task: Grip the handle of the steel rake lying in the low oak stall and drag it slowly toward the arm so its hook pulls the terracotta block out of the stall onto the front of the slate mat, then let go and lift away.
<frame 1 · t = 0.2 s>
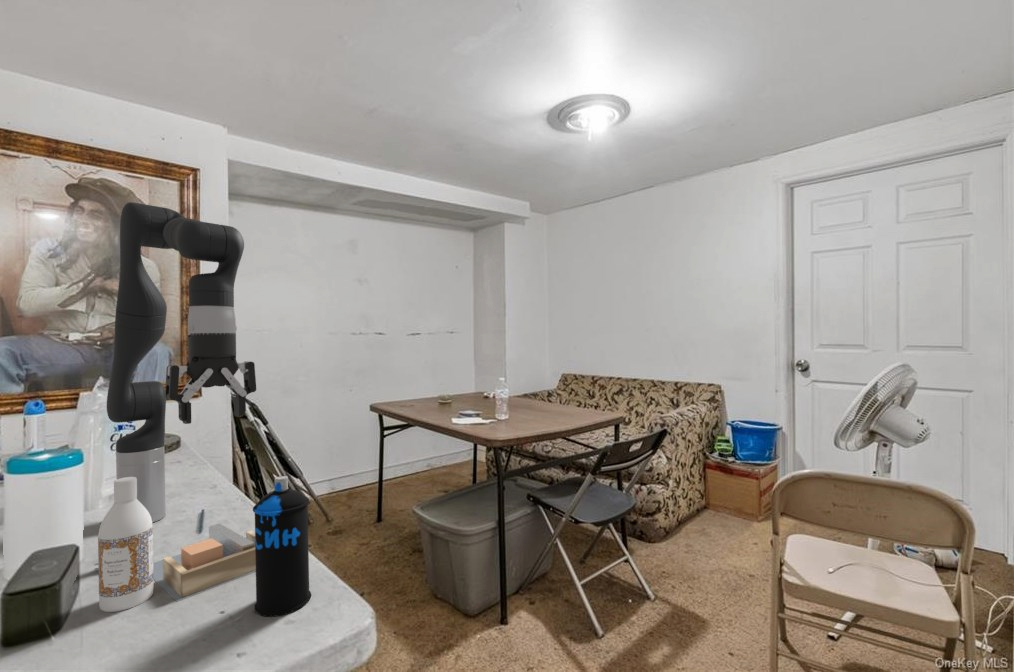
hand: (213, 419, 87), 28 cm above the table, tool pointing down, fingers open, 8 cm apart
bath foam: (127, 602, 77), on the table
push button: (118, 568, 89), on the table
block: (202, 574, 85), resting on mat
mat: (211, 565, 89), on the table
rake: (230, 556, 92), resting on mat
aerosol can: (283, 603, 76), on the table
stall: (219, 571, 87), resting on mat
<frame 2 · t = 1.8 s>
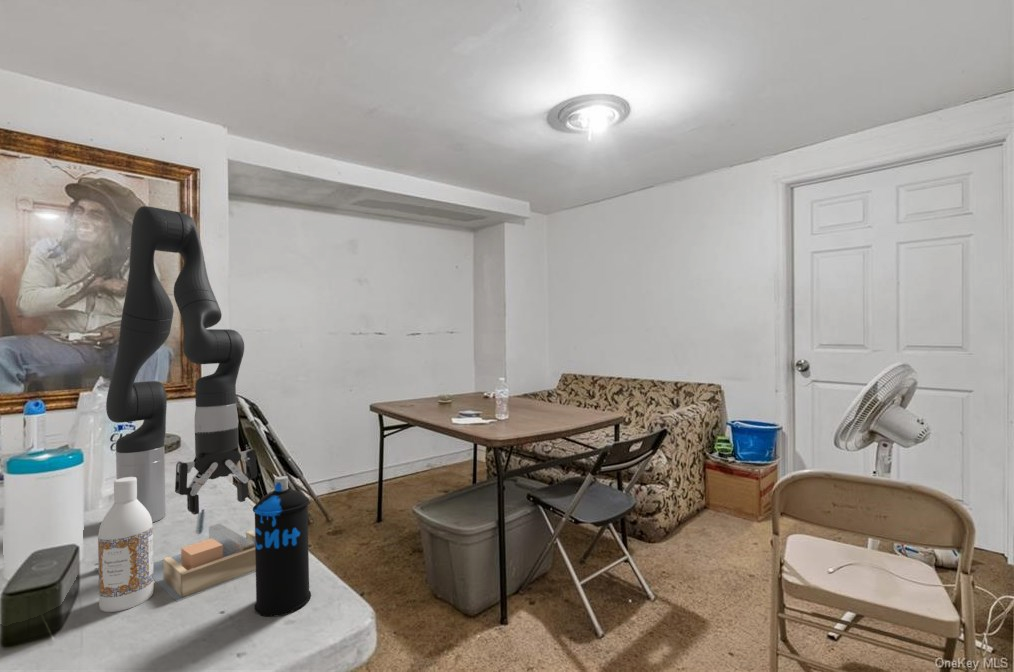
hand: (218, 507, 95), 9 cm above the table, tool pointing down, fingers open, 8 cm apart
nothing on the table moved.
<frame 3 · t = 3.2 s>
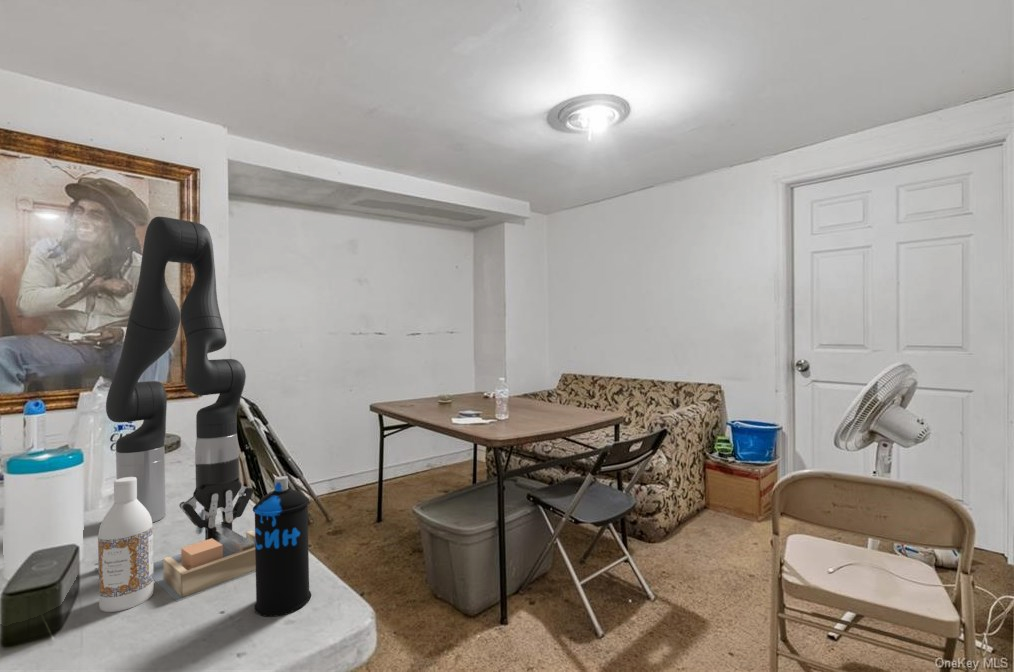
hand: (218, 542, 96), 2 cm above the table, tool pointing down, fingers closed on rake, 2 cm apart
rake: (230, 556, 92), resting on mat, touching gripper
everything else where it was.
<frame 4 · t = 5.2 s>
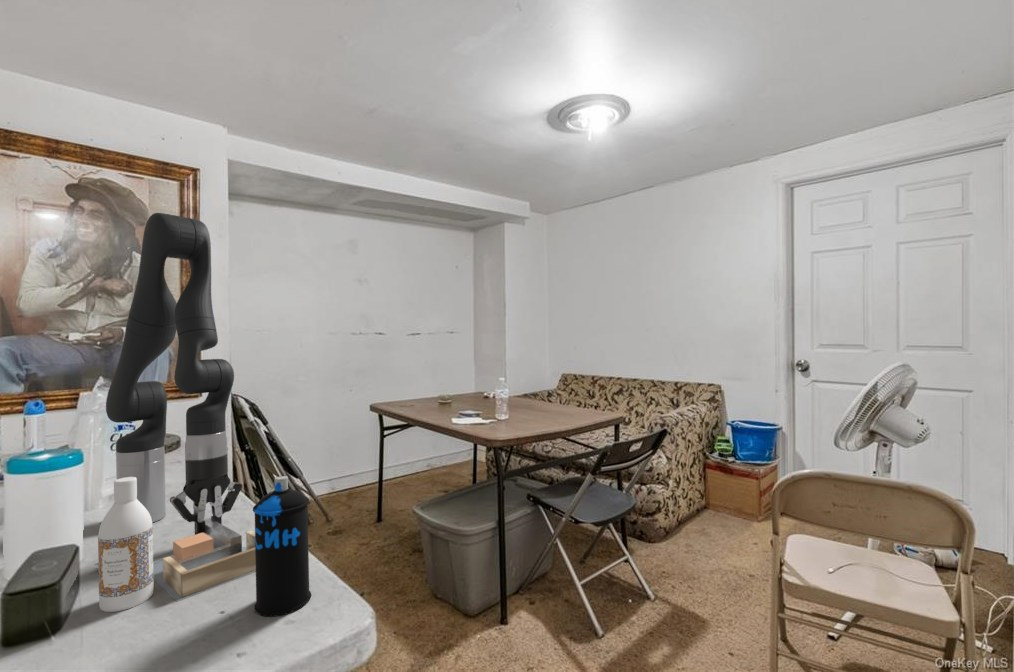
hand: (208, 536, 99), 2 cm above the table, tool pointing down, fingers closed on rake, 2 cm apart
block: (193, 566, 88), resting on mat, touching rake
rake: (219, 549, 95), on the table, touching block, gripper
everything else where it was.
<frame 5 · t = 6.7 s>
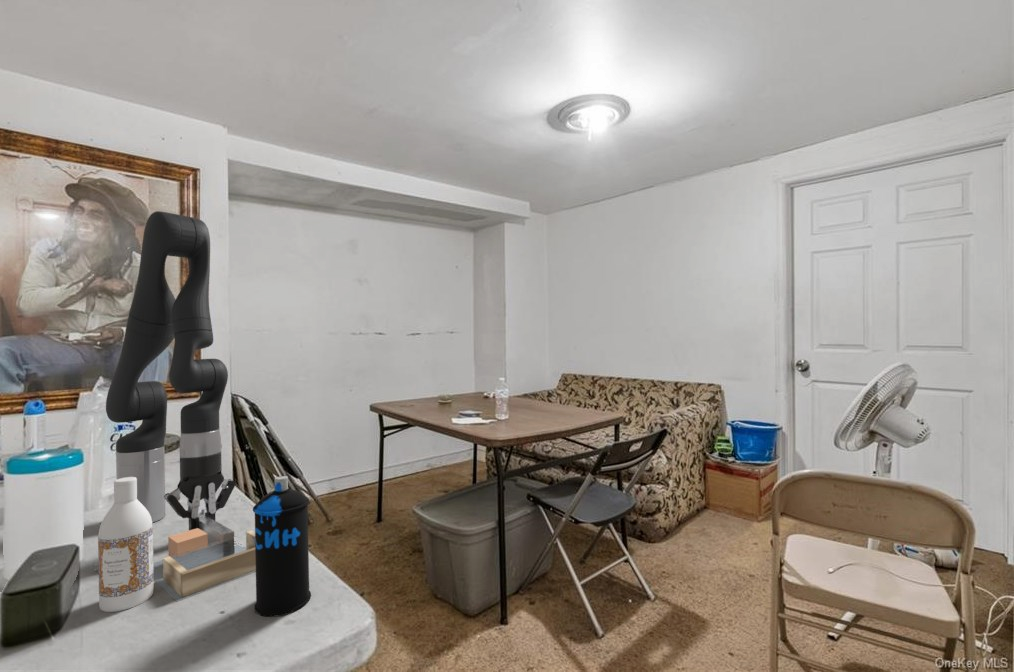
hand: (202, 532, 101), 2 cm above the table, tool pointing down, fingers closed on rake, 2 cm apart
block: (188, 561, 91), resting on mat
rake: (213, 545, 98), on the table, touching gripper, mat
everything else where it was.
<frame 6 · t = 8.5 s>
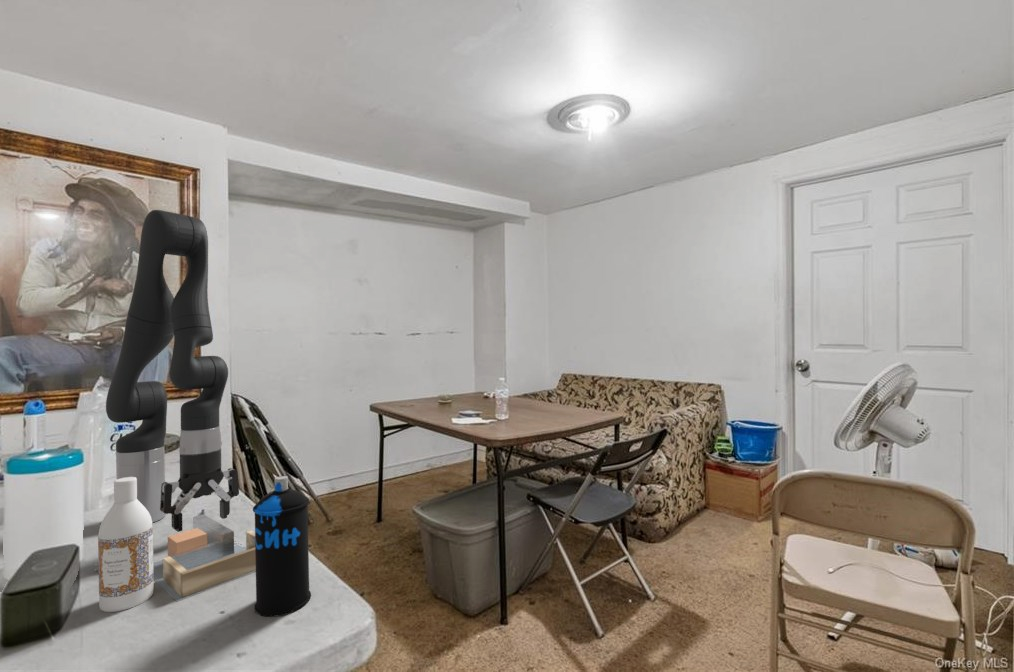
hand: (201, 524, 101), 3 cm above the table, tool pointing down, fingers open, 8 cm apart
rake: (212, 545, 98), on the table, touching mat
everything else where it was.
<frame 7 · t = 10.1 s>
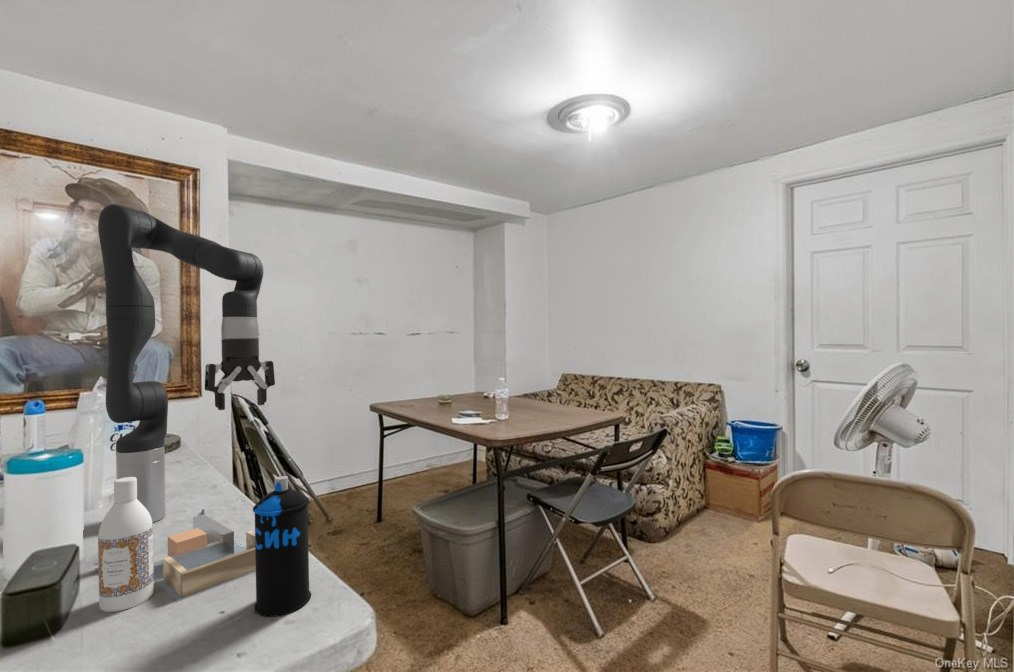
hand: (241, 407, 109), 27 cm above the table, tool pointing down, fingers open, 8 cm apart
nothing on the table moved.
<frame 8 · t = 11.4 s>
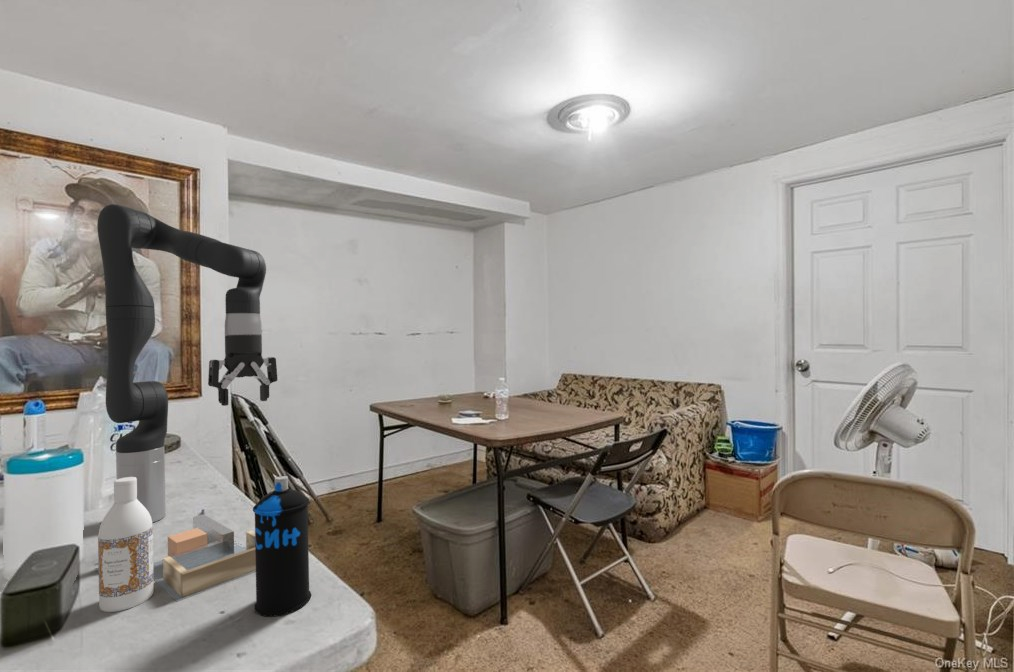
hand: (244, 403, 109), 28 cm above the table, tool pointing down, fingers open, 8 cm apart
nothing on the table moved.
at the end: block inside the target area (1.8 cm from its centre), resting on mat; block tilted 0° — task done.
